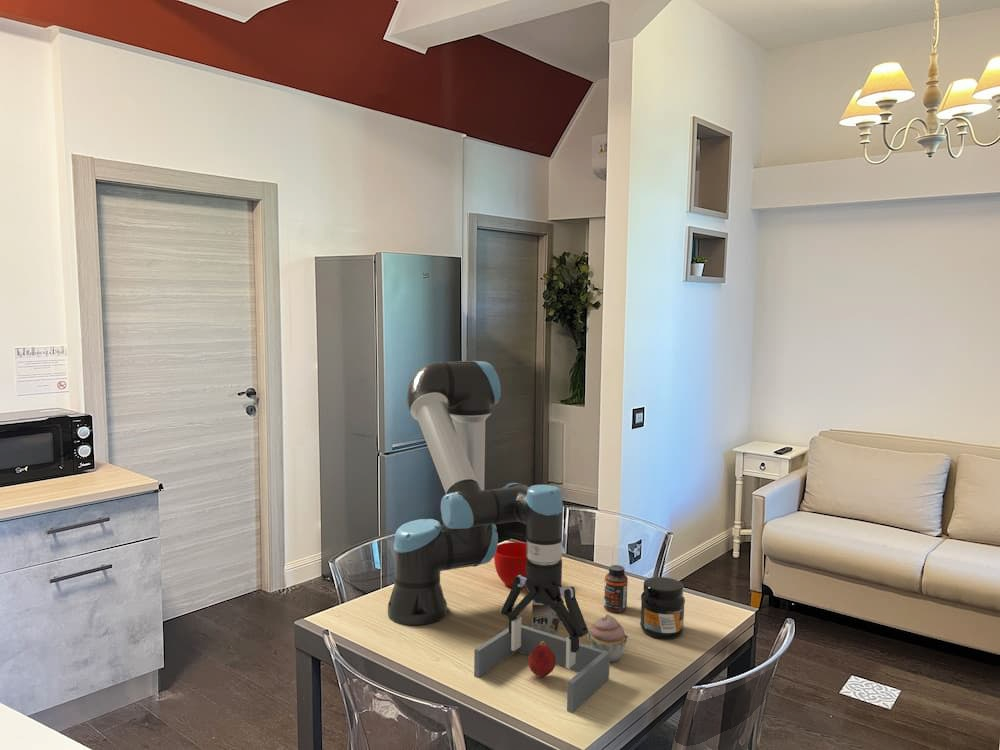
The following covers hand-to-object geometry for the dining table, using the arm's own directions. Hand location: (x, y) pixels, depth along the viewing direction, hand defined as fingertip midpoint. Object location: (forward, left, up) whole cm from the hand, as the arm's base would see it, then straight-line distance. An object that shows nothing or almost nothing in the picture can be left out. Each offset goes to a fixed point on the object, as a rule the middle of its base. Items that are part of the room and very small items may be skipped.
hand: (542, 656), depth 156 cm
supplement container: (+12, +37, -5) cm, 39 cm away
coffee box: (-12, +22, -5) cm, 26 cm away
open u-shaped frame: (0, 0, -5) cm, 5 cm away
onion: (0, 0, -5) cm, 5 cm away
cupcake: (+7, +17, -5) cm, 19 cm away
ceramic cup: (-32, +42, -5) cm, 53 cm away
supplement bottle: (-3, +42, -5) cm, 43 cm away
